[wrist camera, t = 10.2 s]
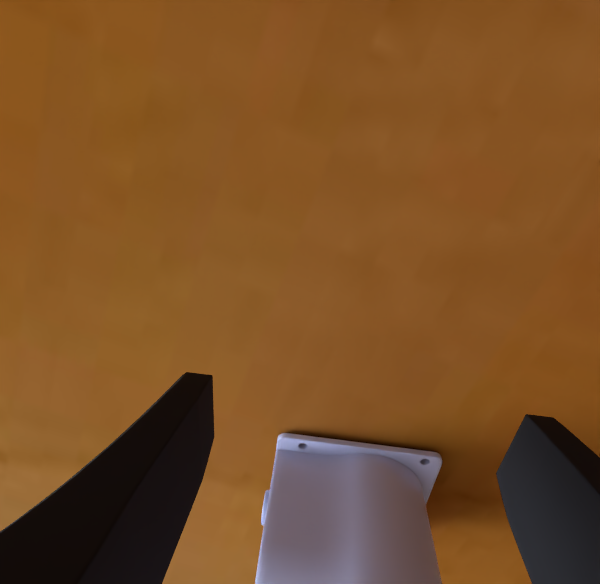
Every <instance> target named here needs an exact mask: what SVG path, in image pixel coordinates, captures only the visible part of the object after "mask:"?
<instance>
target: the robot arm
mask: <svg viewBox="0 0 600 584" xmlns="http://www.w3.org/2000/svg"><path fill="white" fill-rule="evenodd" d="M213 439H214V414H213V380H212V375H205V374H197V373H189V372H186V373H185V374H184V375H182V376H181V377H180V378H179V379H178V380H177V381H176V382H175V383H174V384H173V385H172V386H171V387H170V388H169V389H168V390H167V391H166V392H165V393H164V394H163V395H162V396H161V397H160V398H159V399H158V400H157V401H156V402H155V403H154V404H153V405H152V406H151V407H150V408H149V409H148V410H147V411H146V412H145V413H144V414H143V415H142V416H141V417H140V418H139V419H137V420H136V421H135V422H134V423H133V424H132V425H131V426H130V427H129V428H128V429H127V430H126V431H125V432H123V433H122V434H121V435H120V436H119V437H118V438H117V439H116V440H115V441H114V442H113V443H111V444H110V445H109V446H108V447H107V448H106V449H105V450H103V451H102V452H101V453H100V454H99V455H98V456H96V457H95V458H94V459H93V460H92V461H90V462H89V463H88V464H87V465H86V466H85V467H83V468H82V469H81V470H80V471H79V472H77V473H76V474H75V475H74V476H73V477H72V478H70V479H69V480H68V481H67V482H65V483H64V484H63V485H62V486H60V487H59V488H58V489H57V490H55V491H54V492H53V493H52V494H50V495H49V496H48V497H46V498H45V499H44V500H42V501H41V502H40V503H39V504H37V505H36V506H35V507H33V508H32V509H31V510H29V511H28V512H27V513H25V514H24V515H23V516H21V517H20V518H19V519H17V520H16V521H14V522H13V523H12V524H10V525H9V526H8V527H6V528H5V529H3V530H2V531H0V584H162V582H163V579H164V577H165V574H166V572H167V569H168V567H169V564H170V561H171V559H172V556H173V554H174V551H175V549H176V546H177V544H178V541H179V539H180V536H181V534H182V531H183V528H184V526H185V523H186V521H187V518H188V516H189V513H190V511H191V508H192V505H193V503H194V500H195V498H196V495H197V493H198V490H199V487H200V485H201V482H202V479H203V476H204V472H205V469H206V465H207V462H208V458H209V454H210V451H211V447H212V443H213ZM302 443H305V444H302ZM441 465H442V458H441V455H440V454H439V453H436V452H431V451H424V450H416V449H408V448H400V447H392V446H384V445H377V444H369V443H361V442H353V441H345V440H338V439H330V438H322V437H314V436H306V435H298V434H291V433H282V434H280V435H279V436H278V440H277V450H276V456H275V462H274V468H273V474H272V480H271V486H270V490H266V492H265V497H264V503H263V510H262V518H261V524H262V525H264V529H263V535H262V541H261V547H260V553H259V560H258V566H257V573H256V580H255V584H442V581H441V576H440V571H439V567H438V562H437V557H436V552H435V547H434V543H433V538H432V533H431V528H430V523H429V519H428V514H427V509H426V503H427V501H428V498H429V496H430V493H431V491H432V488H433V485H434V483H435V480H436V478H437V475H438V473H439V470H440V468H441ZM496 475H497V479H498V483H499V487H500V491H501V496H502V500H503V503H504V507H505V511H506V514H507V518H508V521H509V524H510V527H511V530H512V532H513V535H514V538H515V540H516V543H517V545H518V548H519V551H520V553H521V556H522V559H523V561H524V564H525V566H526V569H527V571H528V574H529V577H530V579H531V582H532V584H600V458H599V457H598V456H597V455H596V454H595V453H594V452H593V451H592V450H590V449H589V448H588V447H587V446H586V445H585V444H584V443H583V442H581V441H580V440H579V439H578V438H577V437H576V436H575V435H573V434H572V433H571V432H570V431H569V430H568V429H567V428H565V427H564V426H563V425H562V424H561V423H559V422H558V421H557V420H556V419H554V418H552V417H544V416H536V415H528V414H526V415H525V417H524V419H523V421H522V423H521V425H520V427H519V429H518V431H517V433H516V435H515V437H514V439H513V441H512V443H511V445H510V447H509V449H508V451H507V453H506V455H505V457H504V459H503V461H502V463H501V465H500V467H499V469H498V471H497V473H496Z"/></svg>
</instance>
